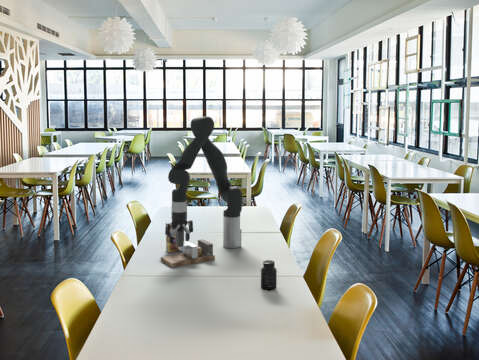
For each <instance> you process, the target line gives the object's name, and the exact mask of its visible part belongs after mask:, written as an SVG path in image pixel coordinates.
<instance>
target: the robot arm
mask: <svg viewBox="0 0 479 360" xmlns="http://www.w3.org/2000/svg"><path fill="white" fill-rule="evenodd" d="M214 128H215V121H214V119H213V118H212V117H210V116H199V117H198V116H197V117H195V118H193V119H191V121H190V129H191V132H192V135H193V137H194V138H193V139H192V140H191V142H190V143H188V144H187V146H186V147H185V148H184V149H183V151H182V153H181V155H180V158H179V159H178V161H177V162H176V163H175V164H174V165H173V166H172V167H171V169H170V170H169V172H168V177H167V179H168V182H170V184H175V185H178V188H174V189H172V191H171V222H166V223H165V229H164V230H165V233H164V234H165V236H166V235H167V236H169V242H170V243H171V244H173V235H174V233H176V231H180V230H184V241H185V242H187V241H188V242H190V237H191V236H190V234H191V233H193V232H194V223H193V221H194V220H191V219H188V205H187V204H188V203H187V193H188V188H189V185H190V179H191V177H190V173H189V172H188V171H187V170H190V169H192V167H193V165H194V164H195V163H194V162H195V161H196V158H197V157H198V154H199V152H200V151H202V153H203V155H204V157H205V159H206V163H207V165H208V168H209V169H210V171H211V174H212V175H213V177H214V180H215V183H216V185H217V189H218V193H219V195H220V198H221V199H222V201H223V202H225V203H227V208H226V209H224V210H223V211H222V212H223V213H222V214H223V215H222V216H223V217H222V218H223V222H222V223H223V225H222V226H223V227H222V231H223V233H222V236H223V237H222V239H223V240H222V247H224V248H225V249H238V248H241V247H242V234H243V233H242V229H241V213H242V210H243V192H242V189H240V188H239V187H236V186H232V184H231V182H230V180H229V178H228V163H227V161H226V158H225V156H224V154H223V152H222V151H221V150H220V149H219V148H218V146H216V145H215V144H214V142H212V141H211V139H210V136H211V134H212V133H213V131H214ZM187 219H188V220H187ZM187 225H188V227H187ZM171 226H172V228H171V231H170V227H171Z"/></svg>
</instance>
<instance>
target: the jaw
mask: <svg viewBox="0 0 479 360" xmlns="http://www.w3.org/2000/svg"><path fill="white" fill-rule="evenodd" d="M175 246H177V247H178V249H179V250H181V251H182V253H183V254H185V255H186V256H188V257H190V258H192V259H194V258H198V244H194V243H193V242H190V241H185V231H184V230H180V231H176V233H175Z"/></svg>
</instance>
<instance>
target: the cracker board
mask: <svg viewBox="0 0 479 360" xmlns="http://www.w3.org/2000/svg"><path fill="white" fill-rule="evenodd" d="M197 246H198V247H201V256H198V258H194V259H192V258H190V257H188V256H186V255H185V254H183V252H181V253H177V254H171V255H165V256H161V257H160V262H162V263H164V264H165V265H167V266H169V267H170V268H179V267H184V266H188V265H193V264H199V263H203V262H208V261H214V260H215V259H216V257H215V256H216V255H215V254H214V244H213V243H212V242H209V241H208V240H205V239H197Z"/></svg>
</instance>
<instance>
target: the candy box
mask: <svg viewBox="0 0 479 360" xmlns="http://www.w3.org/2000/svg"><path fill="white" fill-rule="evenodd" d="M171 228H172V226H171V227H170V231H171ZM165 241H166V242H165V251H166V252H168V253H173V252H181V251H182V250H179V249H178V247H177V246H175V233H174V235H173V244H171V243H170V242H169V236H167V235H166V234H165Z"/></svg>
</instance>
